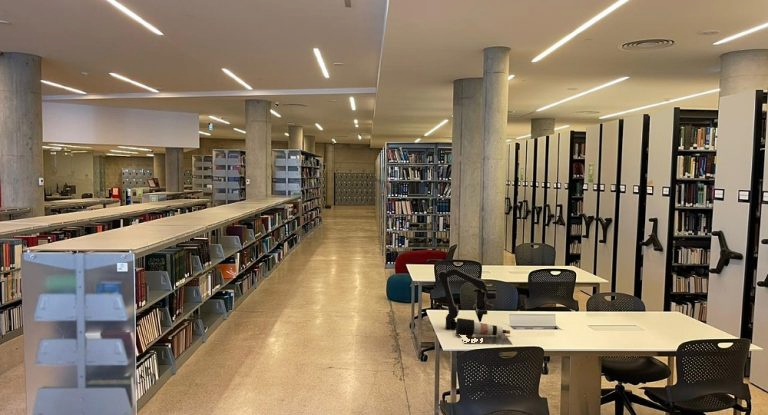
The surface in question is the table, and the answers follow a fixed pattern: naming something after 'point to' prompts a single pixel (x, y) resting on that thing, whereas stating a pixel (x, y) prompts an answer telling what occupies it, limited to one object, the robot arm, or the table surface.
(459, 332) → the banded tapered cylinder
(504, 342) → the plate
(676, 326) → the table surface
